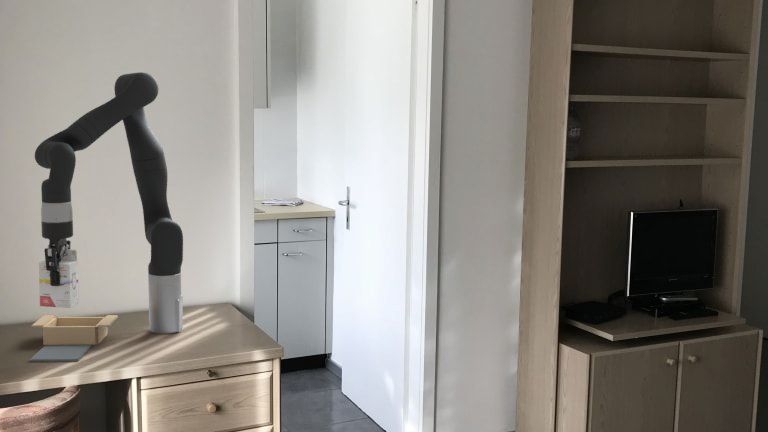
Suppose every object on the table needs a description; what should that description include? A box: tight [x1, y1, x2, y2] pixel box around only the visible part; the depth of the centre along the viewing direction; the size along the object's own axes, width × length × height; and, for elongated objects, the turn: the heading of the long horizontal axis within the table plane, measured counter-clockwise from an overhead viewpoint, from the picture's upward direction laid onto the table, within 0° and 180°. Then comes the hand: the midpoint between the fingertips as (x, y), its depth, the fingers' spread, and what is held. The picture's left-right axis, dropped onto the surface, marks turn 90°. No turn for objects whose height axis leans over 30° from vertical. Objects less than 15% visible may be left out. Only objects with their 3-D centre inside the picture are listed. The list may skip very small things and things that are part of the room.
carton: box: [31, 314, 119, 346], centre depth 222 cm, size 21×11×6 cm, turn 96°
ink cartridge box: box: [38, 248, 80, 309], centre depth 206 cm, size 9×5×15 cm, turn 84°
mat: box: [29, 345, 92, 363], centre depth 208 cm, size 12×12×1 cm
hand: (59, 282), depth 206 cm, fingers closed on ink cartridge box, 5 cm apart
